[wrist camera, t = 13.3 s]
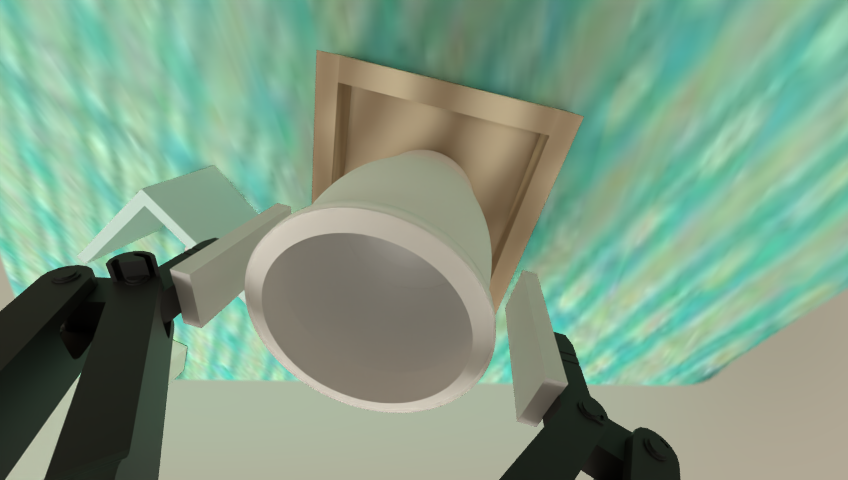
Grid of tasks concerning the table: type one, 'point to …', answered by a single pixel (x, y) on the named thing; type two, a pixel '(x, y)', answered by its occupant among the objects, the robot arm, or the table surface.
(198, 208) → the l-shaped corner panel
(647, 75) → the table surface
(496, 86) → the table surface
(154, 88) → the table surface
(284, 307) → the jar
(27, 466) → the milk
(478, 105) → the wooden tray
